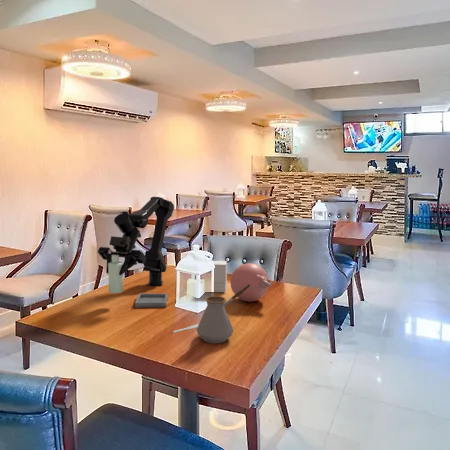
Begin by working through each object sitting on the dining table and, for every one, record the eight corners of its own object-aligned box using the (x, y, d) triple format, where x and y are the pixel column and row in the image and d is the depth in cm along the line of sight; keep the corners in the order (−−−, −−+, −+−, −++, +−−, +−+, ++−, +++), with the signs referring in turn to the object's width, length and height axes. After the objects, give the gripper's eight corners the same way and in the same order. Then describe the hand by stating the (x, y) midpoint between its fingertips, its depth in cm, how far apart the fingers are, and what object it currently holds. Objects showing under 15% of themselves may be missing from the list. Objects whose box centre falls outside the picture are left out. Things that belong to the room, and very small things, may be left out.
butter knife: (204, 325, 139) (199, 323, 142) (139, 343, 125) (135, 339, 127) (204, 327, 139) (199, 324, 142) (139, 344, 125) (135, 341, 127)
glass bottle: (109, 289, 159) (109, 253, 157) (123, 288, 160) (123, 253, 158) (107, 293, 154) (107, 256, 152) (122, 293, 154) (121, 256, 152)
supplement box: (226, 288, 184) (227, 260, 182) (225, 293, 176) (226, 264, 174) (210, 287, 184) (211, 260, 182) (208, 292, 177) (208, 263, 175)
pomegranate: (252, 313, 153) (253, 272, 151) (222, 298, 169) (223, 261, 167) (283, 306, 161) (285, 268, 159) (252, 292, 178) (253, 258, 176)
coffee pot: (212, 349, 122) (213, 300, 119) (189, 337, 130) (189, 291, 128) (262, 331, 136) (263, 287, 134) (238, 321, 144) (239, 280, 142)
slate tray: (139, 297, 168) (139, 293, 167) (167, 297, 168) (167, 293, 168) (135, 307, 156) (135, 302, 156) (165, 307, 157) (165, 302, 157)
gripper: (99, 226, 160) (82, 260, 151) (142, 229, 154) (127, 264, 145) (111, 242, 168) (95, 275, 160) (152, 246, 163) (138, 280, 154)
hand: (113, 273), depth 154 cm, fingers closed on glass bottle, 5 cm apart
